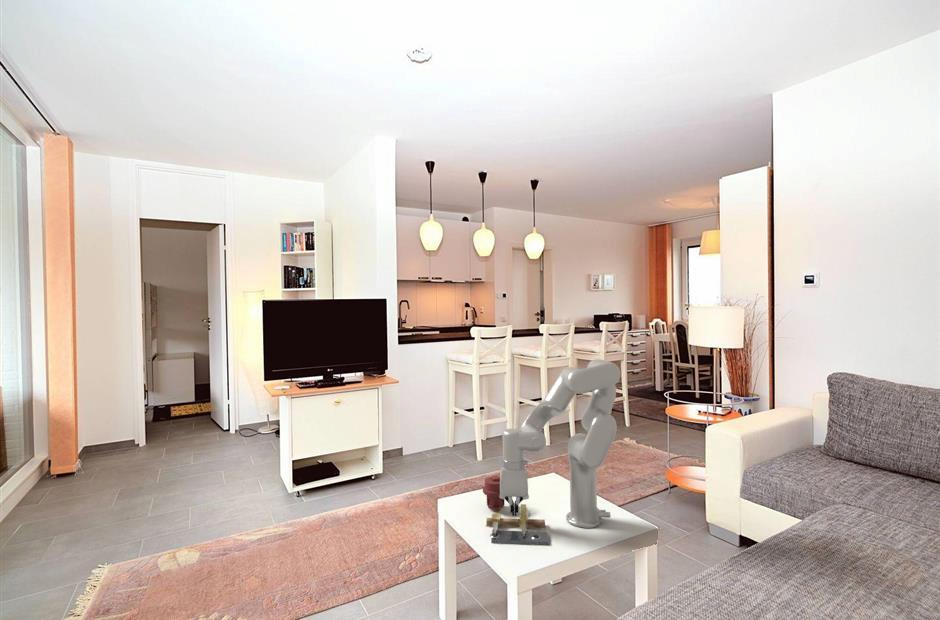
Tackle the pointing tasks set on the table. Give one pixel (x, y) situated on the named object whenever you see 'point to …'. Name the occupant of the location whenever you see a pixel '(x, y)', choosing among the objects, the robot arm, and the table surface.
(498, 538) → the hole plate
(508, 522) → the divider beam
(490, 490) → the mechanical component
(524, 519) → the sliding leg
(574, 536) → the table surface
